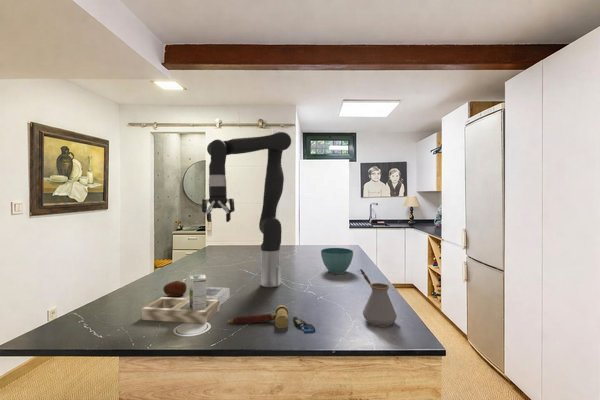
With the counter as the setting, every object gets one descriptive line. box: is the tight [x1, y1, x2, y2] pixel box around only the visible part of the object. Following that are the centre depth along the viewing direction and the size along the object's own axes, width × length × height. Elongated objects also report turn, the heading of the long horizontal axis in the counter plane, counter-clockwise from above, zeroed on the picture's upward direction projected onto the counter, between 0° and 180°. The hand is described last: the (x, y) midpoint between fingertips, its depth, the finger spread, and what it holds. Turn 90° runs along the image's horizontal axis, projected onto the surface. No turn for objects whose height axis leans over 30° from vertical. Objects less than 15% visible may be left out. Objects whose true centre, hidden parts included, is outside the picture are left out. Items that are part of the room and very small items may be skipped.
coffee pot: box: [357, 268, 398, 328], centre depth 109 cm, size 21×12×15 cm, turn 14°
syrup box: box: [188, 274, 207, 310], centre depth 110 cm, size 6×6×14 cm
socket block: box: [185, 286, 231, 307], centre depth 125 cm, size 13×13×4 cm
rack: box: [140, 296, 220, 325], centre depth 111 cm, size 24×12×4 cm, turn 82°
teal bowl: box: [320, 247, 354, 275], centre depth 171 cm, size 18×18×12 cm
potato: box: [163, 280, 188, 297], centre depth 132 cm, size 7×9×6 cm
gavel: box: [227, 304, 290, 329], centre depth 105 cm, size 21×5×10 cm
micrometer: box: [292, 316, 316, 333], centre depth 102 cm, size 12×2×5 cm
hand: (218, 221), depth 134 cm, fingers open, 8 cm apart
